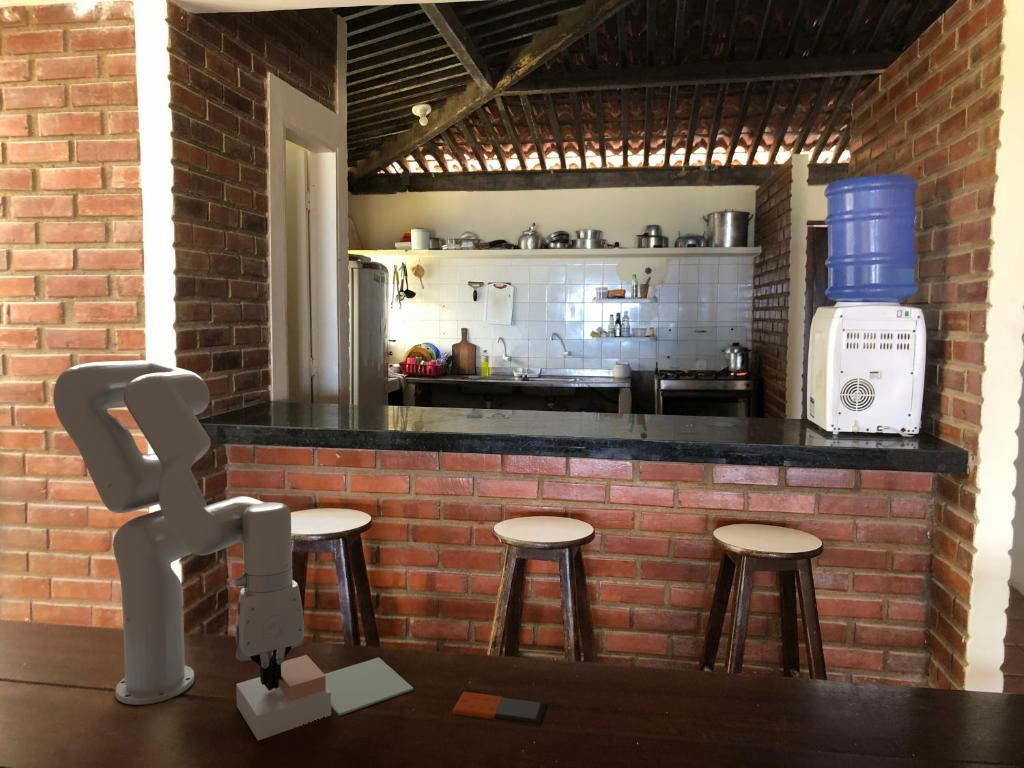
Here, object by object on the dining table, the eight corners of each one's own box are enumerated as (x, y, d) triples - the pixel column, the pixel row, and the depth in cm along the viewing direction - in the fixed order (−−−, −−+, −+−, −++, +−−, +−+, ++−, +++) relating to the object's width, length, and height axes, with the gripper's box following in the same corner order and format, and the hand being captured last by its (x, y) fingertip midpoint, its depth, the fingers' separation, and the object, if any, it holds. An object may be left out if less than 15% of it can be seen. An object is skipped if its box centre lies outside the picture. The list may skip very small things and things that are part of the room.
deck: (236, 706, 116) (236, 683, 116) (305, 684, 123) (305, 663, 123) (257, 740, 107) (257, 716, 106) (331, 715, 114) (330, 692, 113)
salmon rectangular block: (272, 678, 118) (272, 664, 118) (306, 668, 121) (306, 654, 121) (290, 701, 111) (289, 686, 110) (325, 690, 114) (325, 675, 114)
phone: (462, 689, 121) (545, 700, 118) (462, 696, 121) (545, 707, 118) (451, 709, 114) (538, 721, 111) (451, 717, 115) (538, 729, 111)
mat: (309, 680, 125) (309, 678, 125) (378, 659, 133) (378, 657, 133) (339, 715, 114) (339, 713, 113) (413, 690, 122) (413, 687, 122)
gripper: (226, 596, 104) (229, 710, 106) (320, 576, 113) (322, 681, 115) (214, 581, 110) (218, 690, 112) (305, 563, 119) (307, 664, 121)
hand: (271, 685), depth 113 cm, fingers closed
